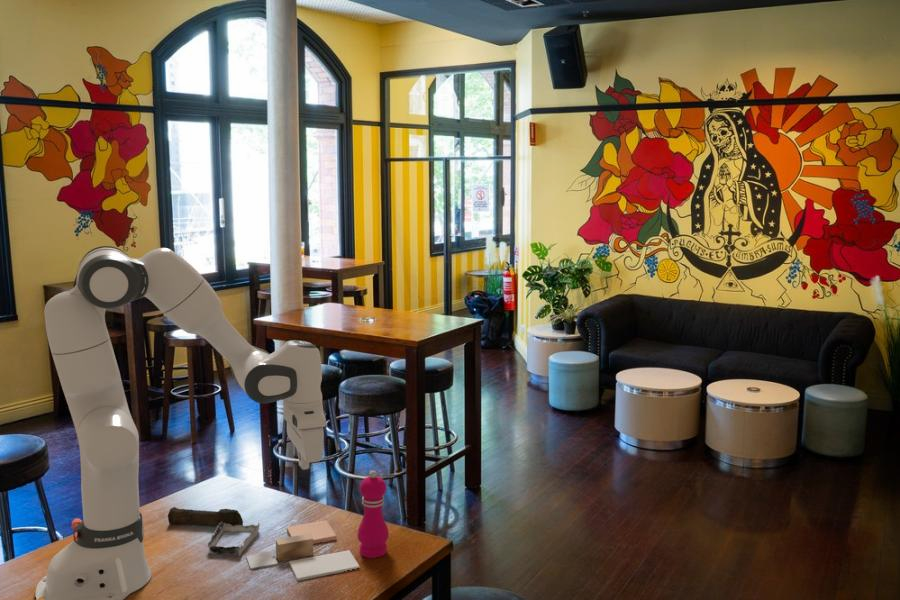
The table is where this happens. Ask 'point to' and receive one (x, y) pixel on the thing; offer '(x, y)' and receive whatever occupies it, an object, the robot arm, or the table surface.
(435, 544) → the table surface
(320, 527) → the tile
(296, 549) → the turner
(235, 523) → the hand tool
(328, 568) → the pad
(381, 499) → the pepper mill
